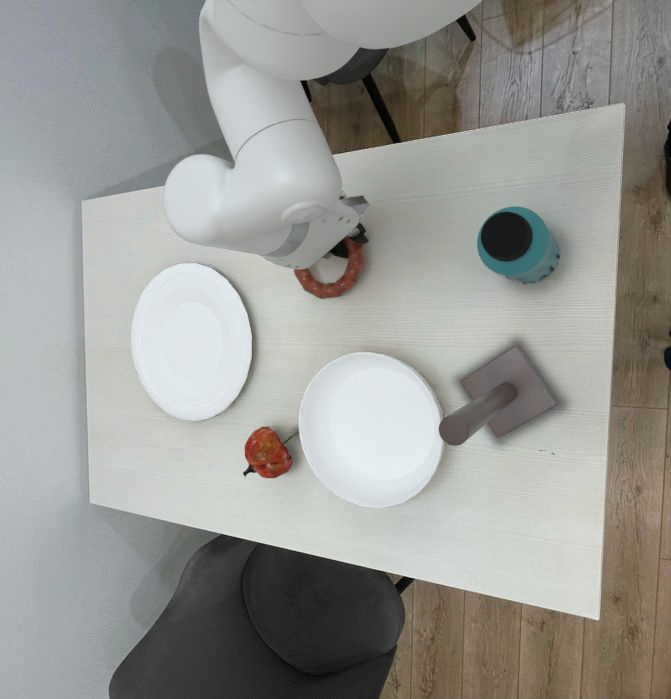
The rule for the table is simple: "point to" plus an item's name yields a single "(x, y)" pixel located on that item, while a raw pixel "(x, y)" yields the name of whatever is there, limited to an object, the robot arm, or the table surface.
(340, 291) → the ring
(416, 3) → the robot arm
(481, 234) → the beverage bottle
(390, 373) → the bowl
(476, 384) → the peg post
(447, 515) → the table surface
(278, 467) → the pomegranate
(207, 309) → the plate
